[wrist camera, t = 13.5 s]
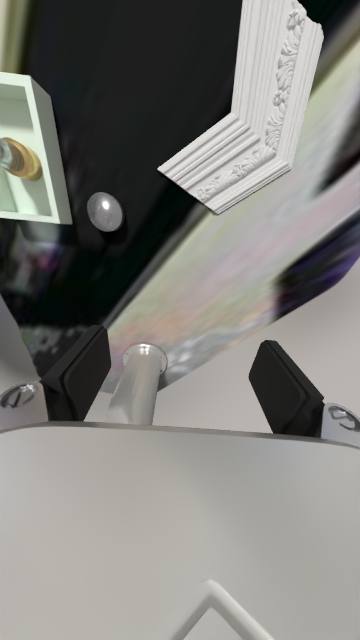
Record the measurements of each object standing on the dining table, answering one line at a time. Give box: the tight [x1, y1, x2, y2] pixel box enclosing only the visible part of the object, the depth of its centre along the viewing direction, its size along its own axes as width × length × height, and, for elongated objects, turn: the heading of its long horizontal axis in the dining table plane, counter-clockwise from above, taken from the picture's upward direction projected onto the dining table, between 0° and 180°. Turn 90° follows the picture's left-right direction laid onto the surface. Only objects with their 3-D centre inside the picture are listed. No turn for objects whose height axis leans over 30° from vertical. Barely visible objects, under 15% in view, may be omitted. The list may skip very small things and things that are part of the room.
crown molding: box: [157, 0, 324, 214], centre depth 27 cm, size 24×1×20 cm
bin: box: [0, 72, 73, 224], centre depth 28 cm, size 17×11×4 cm, turn 174°
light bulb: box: [0, 137, 43, 181], centre depth 25 cm, size 5×5×9 cm
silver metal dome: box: [87, 192, 125, 231], centre depth 32 cm, size 6×6×2 cm
